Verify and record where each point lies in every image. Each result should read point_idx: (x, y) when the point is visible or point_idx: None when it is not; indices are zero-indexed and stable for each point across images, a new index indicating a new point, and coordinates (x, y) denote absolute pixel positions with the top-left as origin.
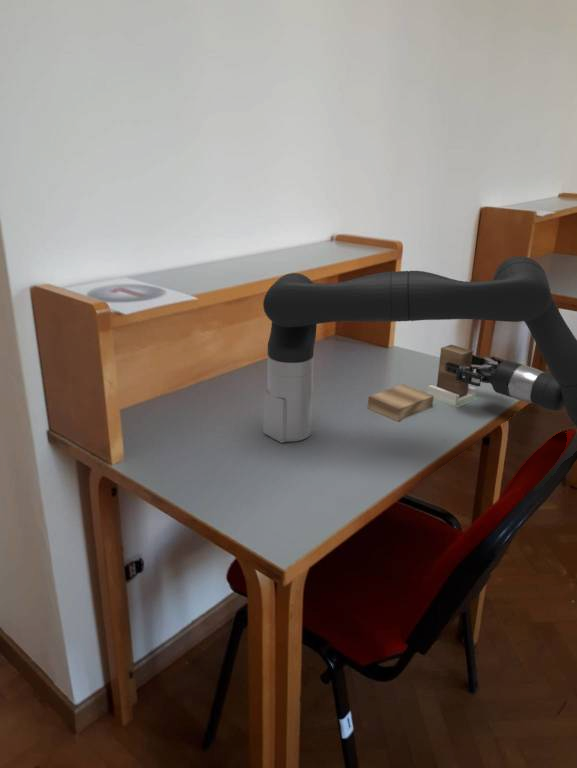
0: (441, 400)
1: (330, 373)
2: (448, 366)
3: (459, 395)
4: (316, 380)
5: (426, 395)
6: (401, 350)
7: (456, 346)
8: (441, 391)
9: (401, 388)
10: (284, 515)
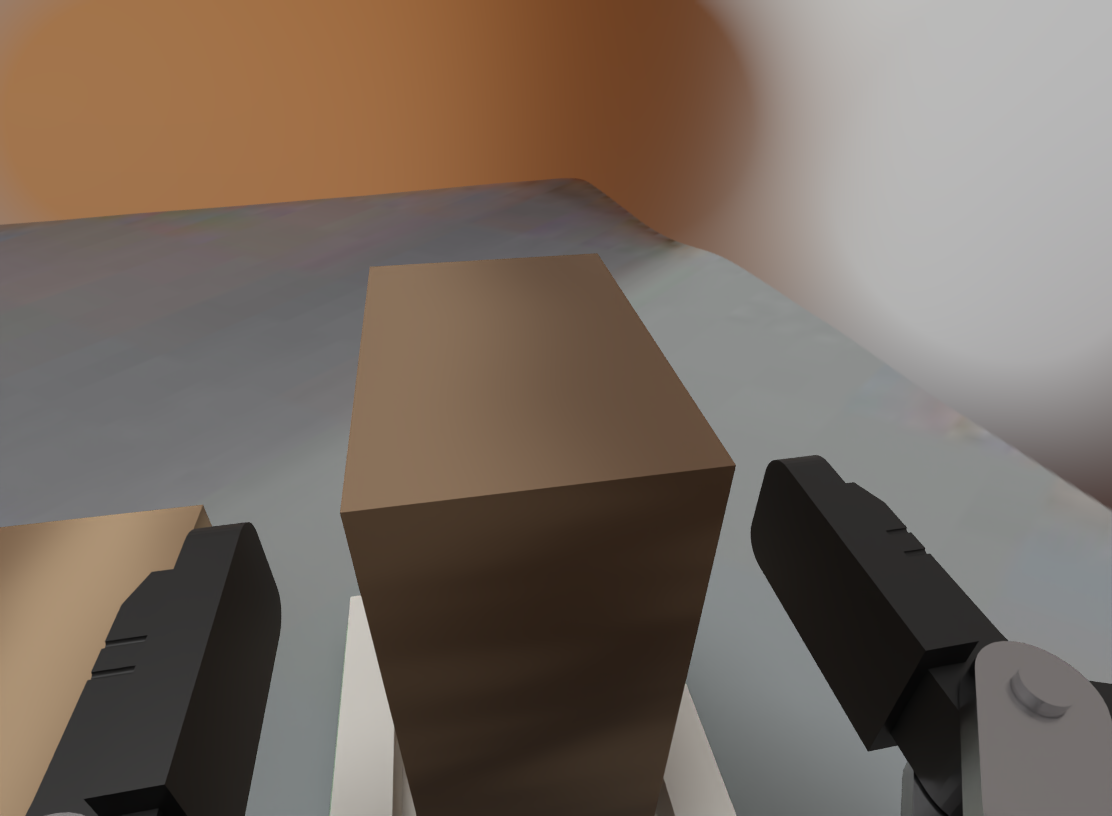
0: None
1: (266, 298)
2: (126, 622)
3: None
4: (145, 316)
5: (40, 783)
6: (720, 263)
7: (606, 292)
8: (339, 743)
9: (96, 552)
10: None
